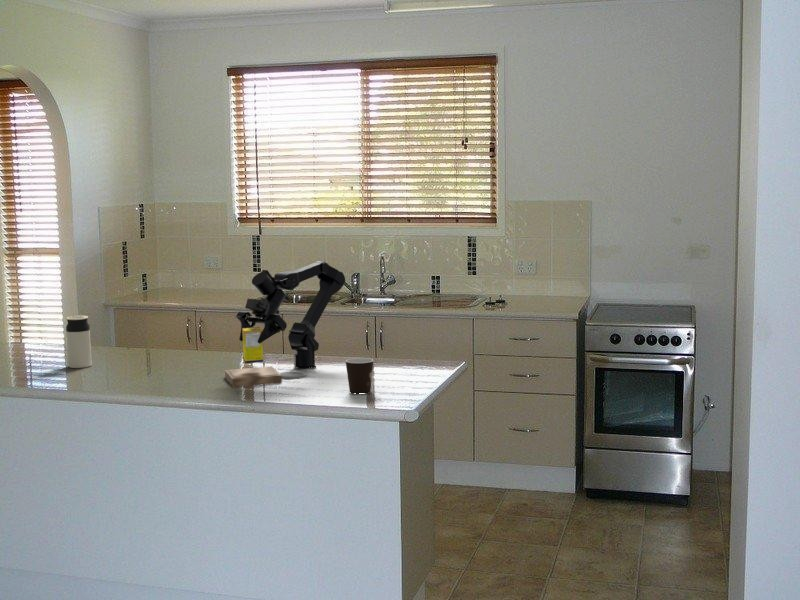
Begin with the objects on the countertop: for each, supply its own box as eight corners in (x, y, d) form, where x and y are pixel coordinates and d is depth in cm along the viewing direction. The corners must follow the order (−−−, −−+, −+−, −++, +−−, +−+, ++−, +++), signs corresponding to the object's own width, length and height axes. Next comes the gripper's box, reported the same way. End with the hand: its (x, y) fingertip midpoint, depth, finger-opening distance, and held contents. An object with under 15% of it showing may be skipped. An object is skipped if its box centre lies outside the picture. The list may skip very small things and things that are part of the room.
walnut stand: (272, 373, 326) (271, 365, 326) (281, 382, 311) (281, 374, 311) (225, 377, 321) (224, 369, 321) (232, 387, 306) (232, 378, 306)
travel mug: (77, 369, 339) (74, 319, 336) (64, 367, 343) (60, 317, 341) (96, 365, 345) (93, 316, 343) (83, 363, 350) (80, 314, 347)
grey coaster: (301, 372, 327) (300, 370, 327) (307, 377, 319) (307, 375, 318) (275, 374, 324) (275, 373, 324) (280, 379, 316) (280, 378, 316)
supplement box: (261, 358, 319) (259, 326, 317) (263, 362, 313) (262, 329, 312) (243, 360, 317) (241, 327, 316) (245, 363, 312) (243, 330, 310)
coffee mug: (363, 396, 290) (363, 364, 289) (340, 393, 295) (340, 361, 293) (384, 389, 300) (384, 357, 299) (361, 386, 304) (361, 355, 303)
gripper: (238, 287, 321) (215, 324, 313) (279, 290, 310) (256, 329, 302) (256, 307, 328) (234, 344, 321) (296, 311, 317) (275, 349, 310)
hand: (249, 341), depth 313 cm, fingers closed on supplement box, 8 cm apart
